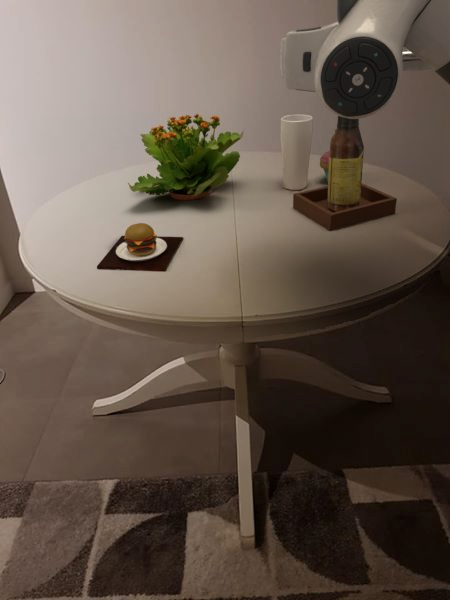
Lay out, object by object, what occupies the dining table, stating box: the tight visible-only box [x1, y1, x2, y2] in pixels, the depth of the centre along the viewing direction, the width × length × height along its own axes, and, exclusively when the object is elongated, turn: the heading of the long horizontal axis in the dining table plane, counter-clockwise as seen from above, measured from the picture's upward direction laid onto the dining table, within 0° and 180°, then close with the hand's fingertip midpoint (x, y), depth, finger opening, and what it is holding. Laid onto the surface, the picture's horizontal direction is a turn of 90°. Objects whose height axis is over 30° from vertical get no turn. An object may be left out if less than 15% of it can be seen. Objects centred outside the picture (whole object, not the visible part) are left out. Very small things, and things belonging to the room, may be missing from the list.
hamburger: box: [96, 222, 184, 272], centre depth 81 cm, size 12×12×6 cm
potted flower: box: [127, 113, 245, 201], centre depth 103 cm, size 25×24×18 cm
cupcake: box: [319, 128, 337, 183], centre depth 105 cm, size 9×8×12 cm
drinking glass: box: [279, 113, 314, 191], centre depth 102 cm, size 7×7×15 cm
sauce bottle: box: [327, 115, 365, 212], centre depth 87 cm, size 6×6×20 cm
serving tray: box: [292, 182, 398, 232], centre depth 92 cm, size 15×13×3 cm
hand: (356, 47), depth 67 cm, fingers open, 8 cm apart
